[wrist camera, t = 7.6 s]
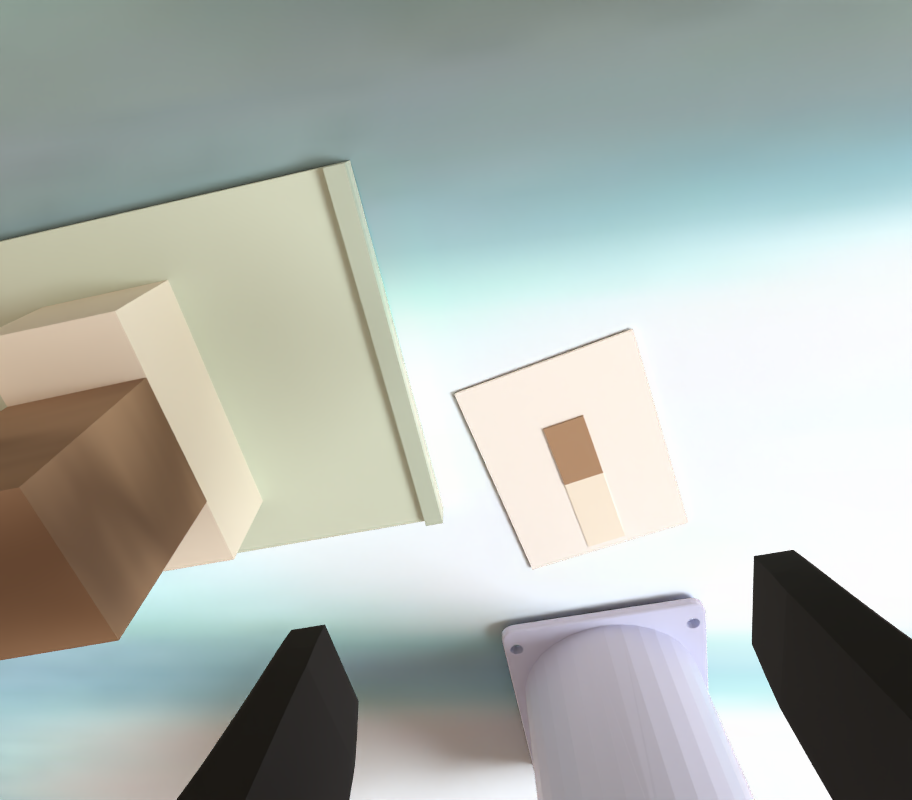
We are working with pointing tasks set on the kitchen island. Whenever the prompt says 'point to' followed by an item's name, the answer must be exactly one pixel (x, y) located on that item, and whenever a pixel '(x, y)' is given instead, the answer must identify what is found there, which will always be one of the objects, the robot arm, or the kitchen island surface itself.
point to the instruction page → (576, 450)
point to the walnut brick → (86, 514)
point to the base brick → (172, 380)
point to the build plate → (268, 340)
